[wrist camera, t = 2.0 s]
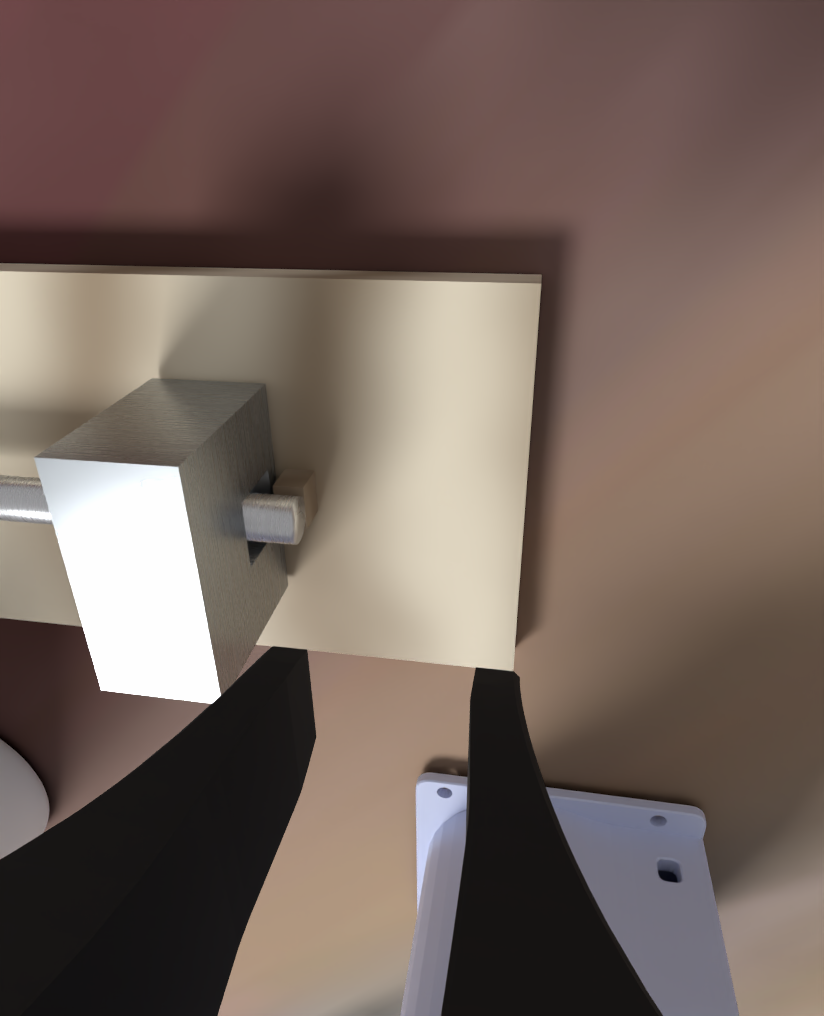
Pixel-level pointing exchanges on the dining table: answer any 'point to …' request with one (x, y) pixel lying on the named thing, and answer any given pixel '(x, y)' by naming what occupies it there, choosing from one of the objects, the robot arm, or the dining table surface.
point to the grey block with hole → (168, 534)
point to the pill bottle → (19, 802)
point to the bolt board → (303, 435)
